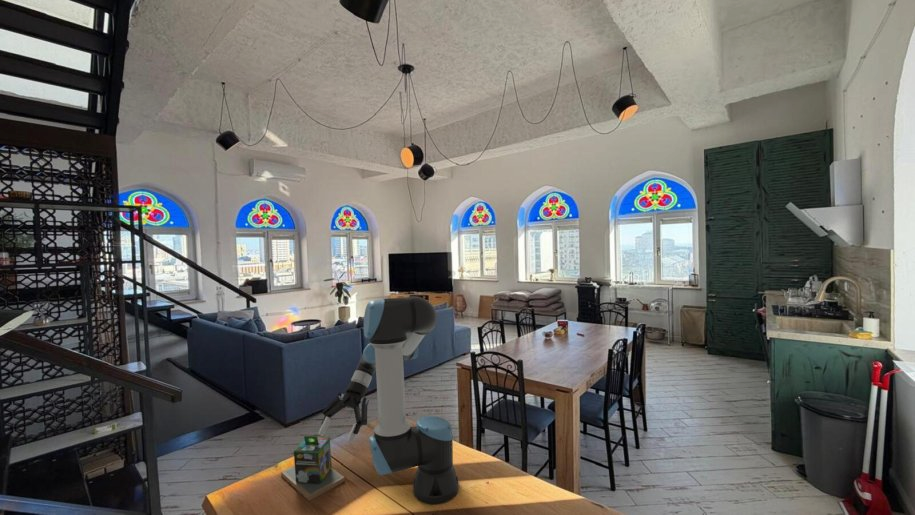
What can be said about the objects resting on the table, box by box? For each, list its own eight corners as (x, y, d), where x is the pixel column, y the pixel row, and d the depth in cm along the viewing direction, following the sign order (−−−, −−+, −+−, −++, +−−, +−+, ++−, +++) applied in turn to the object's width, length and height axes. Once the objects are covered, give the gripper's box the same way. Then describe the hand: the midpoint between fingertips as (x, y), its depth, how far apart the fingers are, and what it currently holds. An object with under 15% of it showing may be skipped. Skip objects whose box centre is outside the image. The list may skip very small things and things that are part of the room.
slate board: (344, 481, 134) (344, 476, 134) (309, 501, 124) (308, 496, 124) (315, 459, 147) (315, 455, 147) (281, 475, 137) (281, 471, 137)
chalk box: (332, 467, 139) (330, 428, 138) (320, 484, 130) (318, 442, 129) (307, 466, 140) (306, 427, 139) (294, 482, 131) (292, 440, 130)
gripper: (388, 393, 154) (366, 449, 141) (339, 383, 164) (314, 435, 152) (380, 385, 149) (356, 442, 136) (330, 376, 159) (303, 428, 147)
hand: (334, 438), depth 144 cm, fingers open, 13 cm apart
